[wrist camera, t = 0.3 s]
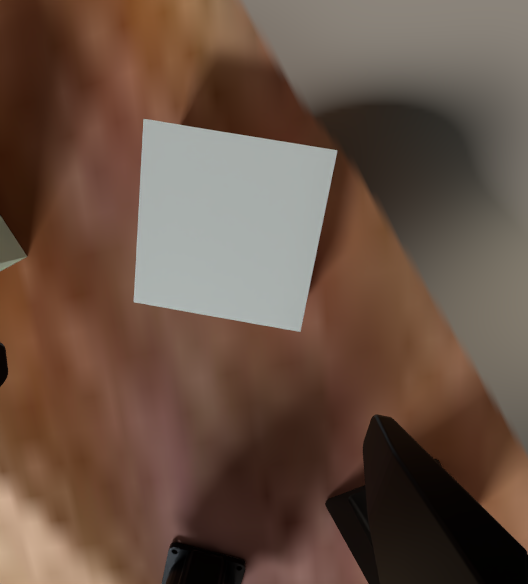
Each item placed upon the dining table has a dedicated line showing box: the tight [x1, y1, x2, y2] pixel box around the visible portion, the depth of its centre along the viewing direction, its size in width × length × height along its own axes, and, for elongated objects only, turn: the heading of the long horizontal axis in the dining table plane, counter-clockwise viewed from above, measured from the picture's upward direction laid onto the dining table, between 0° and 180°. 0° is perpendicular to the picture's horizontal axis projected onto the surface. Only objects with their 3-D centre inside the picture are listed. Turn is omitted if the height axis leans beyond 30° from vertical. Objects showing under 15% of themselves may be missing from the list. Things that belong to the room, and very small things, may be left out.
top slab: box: [134, 119, 337, 332], centre depth 18 cm, size 9×9×2 cm
